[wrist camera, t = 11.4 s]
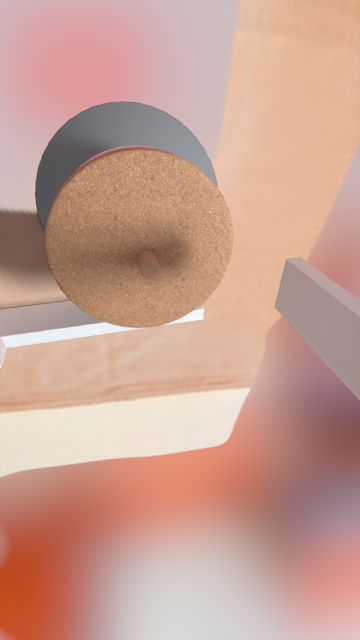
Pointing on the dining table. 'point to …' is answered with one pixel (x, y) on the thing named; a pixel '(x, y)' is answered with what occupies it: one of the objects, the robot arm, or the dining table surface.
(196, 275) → the lidded jar
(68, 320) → the low wall
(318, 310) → the robot arm
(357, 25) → the dining table surface
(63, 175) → the gray round disc
